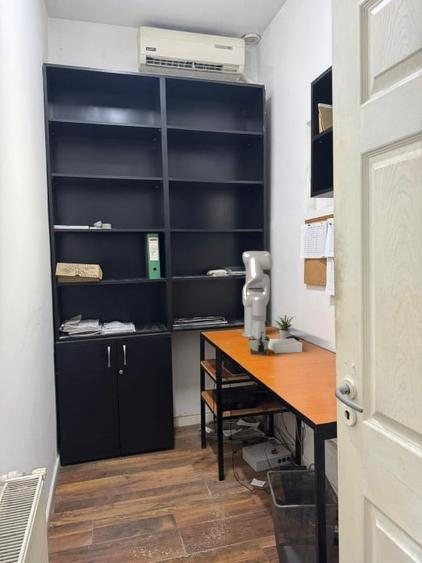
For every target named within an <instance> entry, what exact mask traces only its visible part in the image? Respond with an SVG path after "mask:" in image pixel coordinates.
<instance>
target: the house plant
mask: <svg viewBox="0 0 422 563" xmlns="http://www.w3.org/2000/svg"><path fill="white" fill-rule="evenodd" d="M276 317H278V318H276V319H278V320H279V321H278V320H273V321H274V322H275V323H276V324H275V325H278V326H280V329H279V331H278V332H279V339H286V338H287V337H289V338H290V333H291V329H289V328H290V327H292V323H291V322H292V321H293V320H294V319H293V318H296V317H297V316H292V315H291V316H289V317H287V314H285V315H284V318H283V317H281V316H278V315H277V316H276ZM289 318H290V319H289Z"/></svg>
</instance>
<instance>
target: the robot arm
mask: <svg viewBox="0 0 422 563" xmlns="http://www.w3.org/2000/svg"><path fill="white" fill-rule="evenodd" d="M242 262H243V264H244V266H245V284H244V285H243V288H242V304H243V305H242V306H244V332H242V334H241V335H242V336H243V337H244V338H249V337H250V336H253V337H254V338H255V339H257V340H258V341H259V345H258V352H264V341H265V336H266V322H267V305H268V303H269V302H270V301H269V300H270V292H271V291H270V290H271V289H270V288H271V287H270V286H271V280H270V276H269V275H268V274H266V273H264V270H271V269H272V268H273V263H274V261H273V258H272V255H271V253H270V251H265V250H263V251H262V250H261V251H259V250H249V251H247V250H246V251H244V252H243V253H242ZM260 338H262V339H260ZM260 340H262V341H260Z"/></svg>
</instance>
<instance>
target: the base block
mask: <svg viewBox="0 0 422 563" xmlns="http://www.w3.org/2000/svg"><path fill="white" fill-rule="evenodd" d="M269 339H270V341H269V346H268V349H269V350H271V351H272V352H274V353H275V354H282V353H283V354H285V353H302V352H303V343H302V342H300V341H298V340H297V339H295V338H294V337H293V338H291V337H289V339H281V338H272V339H271V338H269Z"/></svg>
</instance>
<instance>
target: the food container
mask: <svg viewBox="0 0 422 563" xmlns="http://www.w3.org/2000/svg"><path fill="white" fill-rule="evenodd" d="M247 338H248V340H247V341H248V344H249V345H248V346H249V352H250V353H249V354H250V356H268V355H269V347H268V346H269V341H270V339H271V338H270V337H269V336H268V335H265V341H264V352H258V345H259V341H258V340H257V339H255V338H254V337H253V336H250V337H247ZM260 339H262V338H260ZM260 341H262V340H260Z"/></svg>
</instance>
